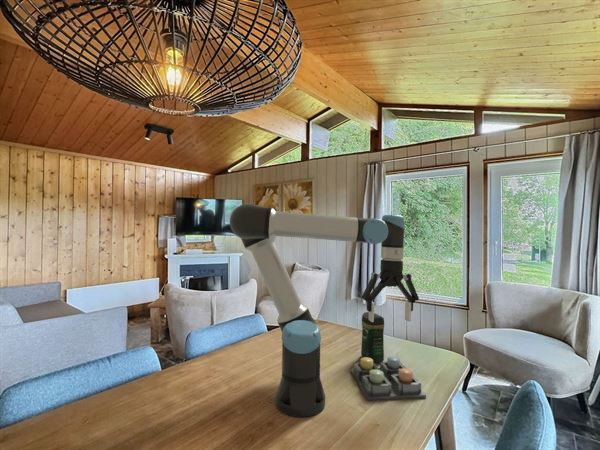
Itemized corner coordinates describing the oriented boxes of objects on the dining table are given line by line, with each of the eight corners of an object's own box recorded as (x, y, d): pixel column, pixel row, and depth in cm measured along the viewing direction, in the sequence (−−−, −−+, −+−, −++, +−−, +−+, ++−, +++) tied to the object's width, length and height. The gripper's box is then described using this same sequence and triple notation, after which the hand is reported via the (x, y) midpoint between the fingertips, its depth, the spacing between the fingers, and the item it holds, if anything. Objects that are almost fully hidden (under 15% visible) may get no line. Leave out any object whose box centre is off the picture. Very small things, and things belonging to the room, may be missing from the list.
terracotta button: (402, 384, 103) (402, 374, 103) (396, 377, 108) (396, 368, 108) (415, 383, 104) (415, 374, 104) (408, 377, 108) (409, 368, 108)
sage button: (372, 385, 102) (372, 375, 102) (367, 378, 106) (367, 369, 106) (385, 384, 103) (385, 375, 103) (380, 378, 107) (380, 369, 107)
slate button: (390, 370, 113) (390, 361, 113) (385, 364, 117) (385, 356, 117) (401, 369, 114) (402, 361, 114) (396, 364, 118) (396, 356, 118)
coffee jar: (387, 363, 127) (387, 316, 127) (368, 364, 125) (369, 317, 125) (375, 353, 136) (376, 310, 136) (358, 355, 134) (359, 311, 134)
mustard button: (362, 371, 112) (362, 362, 112) (358, 365, 116) (359, 357, 116) (374, 370, 112) (374, 362, 113) (370, 365, 117) (370, 357, 117)
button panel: (367, 400, 99) (368, 388, 99) (350, 371, 119) (350, 361, 119) (425, 397, 101) (426, 385, 101) (399, 369, 121) (399, 359, 121)
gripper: (361, 259, 105) (359, 324, 105) (430, 261, 109) (428, 323, 109) (353, 257, 112) (351, 317, 112) (418, 259, 117) (416, 317, 117)
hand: (389, 320), depth 111 cm, fingers open, 13 cm apart
